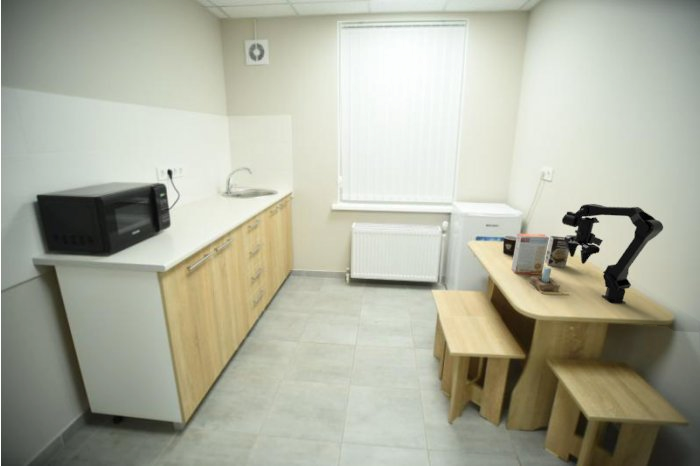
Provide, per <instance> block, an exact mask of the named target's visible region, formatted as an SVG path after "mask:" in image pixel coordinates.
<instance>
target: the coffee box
mask: <svg viewBox="0 0 700 466" xmlns="http://www.w3.org/2000/svg"><path fill="white" fill-rule="evenodd" d="M564 239H565V236H554V235H550V237H549V240H548V245H547V250H546V255H545V260H544V263H545V264H546V265H547V266H550V267H560V268H566V267H567V263H568V258H569V255H570V252H569V249H568V246H567V244H566V241H565V240H564Z"/></svg>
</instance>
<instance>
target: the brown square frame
mask: <svg viewBox="0 0 700 466" xmlns="http://www.w3.org/2000/svg"><path fill="white" fill-rule="evenodd" d="M541 280H542V276H531V277H530V281H529V283H530V285H531V286H532V287H533V288H534V289H535V290H536V291H538V292H539V290H541V291H542V292H559V290H560V284H559V283H558V282H556V281H555V280H554V279H552V278H551V277H550V278H549V282H548V283H542V282H541Z"/></svg>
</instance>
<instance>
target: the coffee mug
mask: <svg viewBox="0 0 700 466" xmlns="http://www.w3.org/2000/svg"><path fill="white" fill-rule="evenodd" d="M516 238H517V236H512V235H505V236H503V243H502V244H503V245H502V246H503V247H502V252H503V253H502V254H504V255H508V256H514V250H515V244H516Z"/></svg>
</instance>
